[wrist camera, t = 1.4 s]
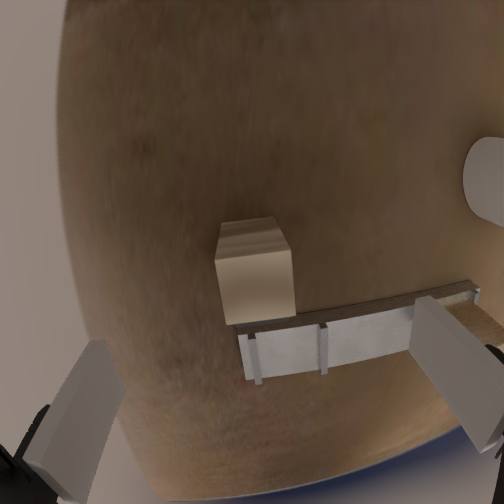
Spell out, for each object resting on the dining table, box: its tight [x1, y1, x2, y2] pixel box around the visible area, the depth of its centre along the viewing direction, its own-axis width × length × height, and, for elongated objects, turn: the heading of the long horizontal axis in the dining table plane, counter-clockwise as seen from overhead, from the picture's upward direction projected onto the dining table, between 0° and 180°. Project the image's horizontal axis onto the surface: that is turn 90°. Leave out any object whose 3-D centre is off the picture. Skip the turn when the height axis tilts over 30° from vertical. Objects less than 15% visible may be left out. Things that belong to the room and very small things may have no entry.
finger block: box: [215, 216, 296, 328], centre depth 21 cm, size 5×4×8 cm
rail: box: [238, 280, 504, 385], centre depth 23 cm, size 5×24×10 cm, turn 97°
